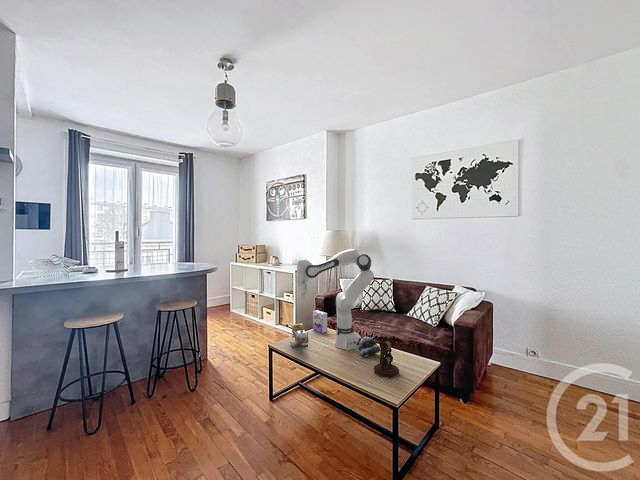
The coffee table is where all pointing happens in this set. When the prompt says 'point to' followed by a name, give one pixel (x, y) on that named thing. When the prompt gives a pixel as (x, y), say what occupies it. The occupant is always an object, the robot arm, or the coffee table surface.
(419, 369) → the coffee table surface
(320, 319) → the candy box
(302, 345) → the grey gold rectangular frame
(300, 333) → the rider
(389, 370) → the brown statuette
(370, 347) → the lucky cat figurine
